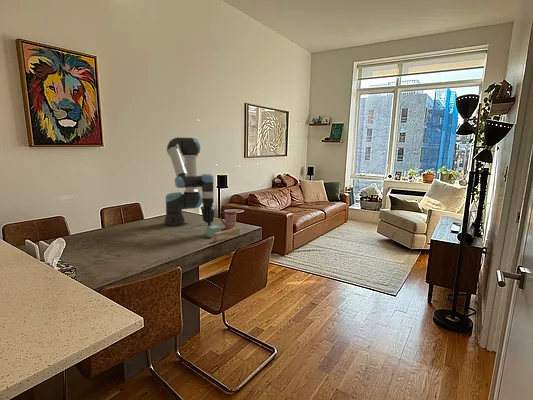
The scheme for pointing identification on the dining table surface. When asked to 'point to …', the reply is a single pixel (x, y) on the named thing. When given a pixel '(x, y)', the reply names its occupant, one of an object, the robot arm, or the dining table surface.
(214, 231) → the block
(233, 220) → the mug
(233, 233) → the stop board
